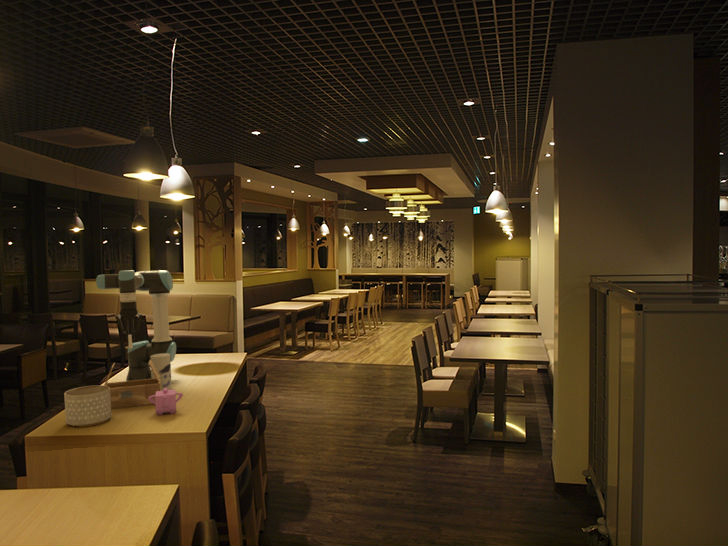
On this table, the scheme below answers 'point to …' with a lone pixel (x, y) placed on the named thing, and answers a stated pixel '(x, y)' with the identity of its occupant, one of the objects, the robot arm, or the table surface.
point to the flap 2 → (154, 370)
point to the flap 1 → (109, 374)
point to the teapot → (165, 401)
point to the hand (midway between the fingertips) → (130, 348)
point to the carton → (133, 392)
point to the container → (162, 369)
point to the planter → (87, 405)
